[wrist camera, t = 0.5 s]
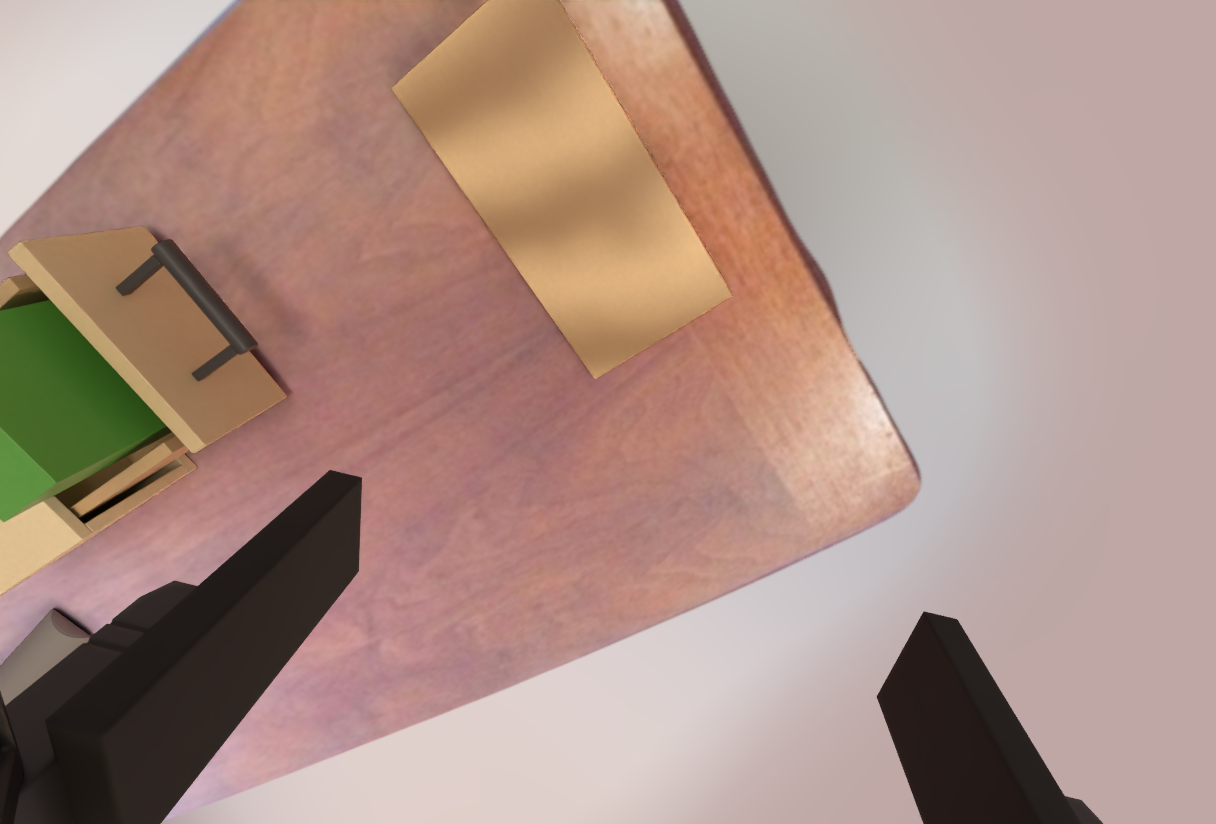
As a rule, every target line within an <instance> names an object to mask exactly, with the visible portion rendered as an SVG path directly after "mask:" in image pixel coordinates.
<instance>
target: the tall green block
mask: <svg viewBox="0 0 1216 824" xmlns="http://www.w3.org/2000/svg"><path fill="white" fill-rule="evenodd" d="M170 433H172V431H171V430H170V429H169V428H168V427H167V425H166V424H165V423H164V422H163V421H162V420H161V419H160V418H159V417H158V416H157V415H156V414H155V413H154V411H153V410H152V409H151V408H150V407H149V406H148V405H147V404H146V403H145V402H144V401H143V400H142V398H141V397H140V396H139V395H138V394H137V393H136V392H135V391H134V390H133V389H132V388H131V387H130V385H129V384H128V383H127V382H126V381H125V380H124V379H123V378H122V377H121V376H120V375H119V374H118V373H117V371H116V370H115V369H114V368H113V367H112V366H111V365H110V364H109V363H108V362H107V361H106V360H105V358H104V357H103V356H102V355H101V354H100V353H99V352H98V351H97V350H96V349H95V348H94V347H93V345H92V344H91V343H90V342H89V341H88V340H87V339H86V338H85V337H84V336H83V335H82V334H81V333H80V331H79V330H78V329H77V328H76V327H75V326H74V325H73V324H72V323H71V322H70V321H69V320H68V318H67V317H66V316H65V315H64V314H63V313H62V312H61V311H60V310H59V309H58V308H57V307H56V305H55V304H54V303H53V302H52V301H51V300H47V301H43V302H38V303H34V304H29V305H25V306H20V307H16V308H11V309H6V310H2V311H0V520H1V521H3V522H5V521H7V520H9V519H11V518H13V517H15V516H17V515H19V514H20V513H22V512H24V511H26V510H28V509H30V508H32V507H34V506H35V505H37V504H39V503H41V502H43V501H45V500H47V499H49V498H50V497H52V496H54V495H56V494H58V493H60V492H62V491H63V490H65V489H67V488H69V487H71V486H73V485H75V484H77V483H78V482H80V481H82V480H84V479H86V478H88V477H90V476H92V475H93V474H95V473H97V472H99V471H101V470H103V469H105V468H107V467H108V466H110V465H112V464H114V463H116V462H118V461H120V460H121V459H123V458H125V457H127V456H129V455H131V454H133V453H135V452H136V451H138V450H140V449H142V448H144V447H146V446H148V445H150V444H151V443H153V442H155V441H157V440H159V439H161V438H163V437H165V436H166V435H168V434H170Z"/></svg>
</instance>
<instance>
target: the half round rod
mask: <svg viewBox="0 0 1216 824" xmlns="http://www.w3.org/2000/svg"><path fill="white" fill-rule="evenodd" d="M89 638H90V635H88V634H87V633H85V632H84V631H83V630H81V629H80V628H79V627H77V626H76V625H75V624H73V623H72V622H70V621H69V620H68V619H66V618H65V617H64V616H62V615H61V614H60V613H58V612H57V611H55V610H53V609H52V610H51V611H50V612H49V613H48V614H47V615H46V616H45V618H44V619H43V620H42V621H41V622H40V623H39V624H38V625H37V626H36V627H35V628H34V630H33V631H32V632H31V633H30V634H29V635H28V636H27V637H26V638H25V639H24V641H23V642H22V643H21V644H20V645H19V646H18V647H17V648H16V649H15V650H14V651H13V653H12V654H11V655H10V656H9V657H8V658H7V659H6V660H5V661H4V662H3V664H2V665H1V666H0V691H1V694H2V697H3V700H4V704H5V706H6V705H7V704H8V703H9V702H10V701H12V700H13V699H14V698H15V697H17V696H18V695H19V694H20V693H22V692H23V691H24V690H25V689H27V688H28V687H29V686H30V685H32V684H33V683H34V682H35V681H37V680H38V679H39V678H40V677H42V676H43V675H44V674H45V673H47V672H48V671H49V670H50V669H51V668H53V667H54V666H55V665H56V664H58V663H59V662H60V661H61V660H63V659H64V658H65V657H66V656H68V655H69V654H70V653H71V652H73V651H74V650H75V649H76V648H78V647H79V646H80V645H81V644H83V643H87V642H88V641H89Z"/></svg>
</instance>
